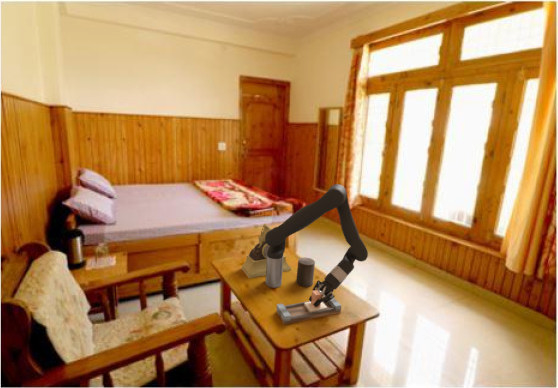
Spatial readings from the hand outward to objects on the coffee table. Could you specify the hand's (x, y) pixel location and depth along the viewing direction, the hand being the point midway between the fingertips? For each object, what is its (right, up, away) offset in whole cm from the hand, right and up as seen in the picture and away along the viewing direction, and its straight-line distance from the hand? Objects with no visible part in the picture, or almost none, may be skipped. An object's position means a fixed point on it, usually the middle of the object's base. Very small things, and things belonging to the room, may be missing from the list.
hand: (312, 303), depth 143 cm
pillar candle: (-1, +1, +28) cm, 28 cm away
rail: (-2, -5, 0) cm, 5 cm away
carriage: (+2, -3, +1) cm, 3 cm away
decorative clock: (-24, +5, +41) cm, 48 cm away
